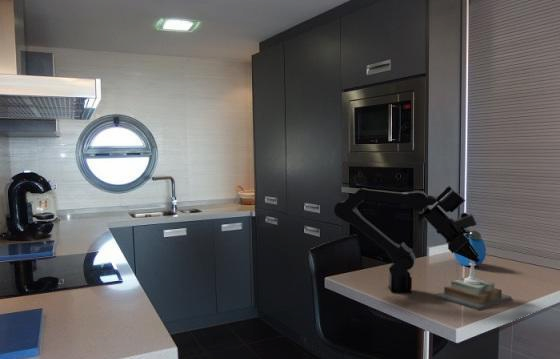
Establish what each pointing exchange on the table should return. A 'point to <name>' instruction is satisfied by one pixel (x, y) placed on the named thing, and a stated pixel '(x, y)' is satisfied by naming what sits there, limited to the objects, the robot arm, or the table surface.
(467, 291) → the stacked blocks
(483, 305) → the baseplate
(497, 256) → the table surface
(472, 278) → the chess piece
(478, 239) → the alarm clock
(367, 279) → the table surface
